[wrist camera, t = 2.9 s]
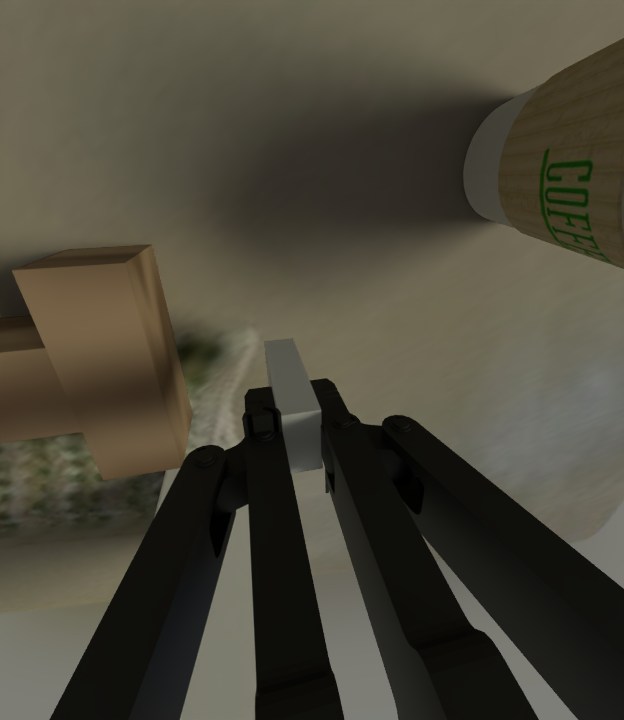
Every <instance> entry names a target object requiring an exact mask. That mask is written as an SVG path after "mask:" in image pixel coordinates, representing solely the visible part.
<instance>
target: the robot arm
mask: <svg viewBox="0 0 624 720" xmlns="http://www.w3.org/2000/svg"><path fill="white" fill-rule="evenodd" d="M264 345H265V355H266V364H267V374H268V383H269V387H263V388H256V389H249V390H248V392H247V393H246V395H245V413H244V414H243V418H242V420H243V427H244V433H245V437H244V439H243V440H242V441H241V442H240V443H239V444H238V445H236V446H234V447H232V448H230V449H228V450H225V451H224V449H223V448H221V447H219V446H215V445H207V446H202V447H199V448H197V449H195V450H193V451H192V452H191V453H189V454H188V456H187V457H186V458H185V460H184V462H183V464H182V466H181V468H180V470H179V471H178V473H177V475H176V477H175V479H174V481H173V483H172V485H171V487H170V489H169V491H168V493H167V495H166V496H165V498H164V500H163V502H162V504H161V506H160V508H159V510H158V512H157V514H156V516H155V518H154V520H153V521H152V523H151V525H150V527H149V529H148V531H147V533H146V535H145V537H144V539H143V541H142V543H141V545H140V547H139V548H138V550H137V552H136V554H135V556H134V558H133V560H132V562H131V564H130V566H129V568H128V570H127V572H126V573H125V575H124V577H123V579H122V581H121V583H120V585H119V587H118V589H117V591H116V593H115V595H114V597H113V599H112V600H111V602H110V605H109V606H108V608H107V610H106V612H105V614H104V616H103V618H102V620H101V622H100V624H99V625H98V627H97V629H96V631H95V633H94V635H93V637H92V639H91V641H90V643H89V645H88V647H87V649H86V651H85V652H84V655H83V656H82V658H81V660H80V662H79V664H78V666H77V668H76V670H75V672H74V674H73V676H72V677H71V679H70V681H69V683H68V685H67V687H66V689H65V691H64V693H63V695H62V697H61V699H60V701H59V702H58V705H57V706H56V708H55V710H54V713H53V714H52V716H51V718H50V720H180V717H181V713H182V710H183V706H184V702H185V699H186V695H187V691H188V688H189V684H190V681H191V677H192V673H193V670H194V666H195V662H196V659H197V655H198V651H199V648H200V644H201V640H202V637H203V633H204V629H205V626H206V622H207V618H208V615H209V611H210V608H211V604H212V600H213V597H214V593H215V589H216V586H217V582H218V578H219V575H220V571H221V567H222V564H223V560H224V556H225V553H226V549H227V546H228V542H229V538H230V535H231V531H232V527H233V524H234V520H235V516H236V510H237V509H239V508H241V507H243V506H246V505H248V510H249V531H250V553H251V575H252V597H253V619H254V641H255V662H256V694H255V720H344V715H343V711H342V706H341V701H340V696H339V692H338V687H337V684H336V680H335V676H334V673H333V671H332V669H331V666H330V662H329V657H328V652H327V648H326V643H325V638H324V633H323V628H322V623H321V619H320V613H319V608H318V603H317V599H316V593H315V588H314V584H313V579H312V574H311V569H310V564H309V559H308V554H307V549H306V544H305V539H304V534H303V529H302V525H301V520H300V515H299V510H298V505H297V500H296V495H295V490H294V485H293V480H292V475H291V474H292V473H297V472H303V471H309V470H315V469H320V468H323V464H322V459H323V462H324V465H325V482H326V493H329V491H330V494H331V497H332V501H333V504H334V507H335V510H336V513H337V517H338V520H339V523H340V526H341V529H342V533H343V536H344V539H345V542H346V545H347V549H348V552H349V555H350V558H351V561H352V565H353V568H354V571H355V574H356V577H357V580H358V584H359V587H360V590H361V593H362V596H363V600H364V603H365V606H366V609H367V612H368V616H369V619H370V622H371V625H372V628H373V632H374V635H375V638H376V641H377V645H378V648H379V651H380V654H381V657H382V660H383V664H384V667H385V670H386V673H387V677H388V680H389V683H390V686H391V689H392V693H393V696H394V700H395V703H396V708H397V713H398V719H399V720H539V719H538V717H537V716H536V714H535V712H534V710H533V709H532V707H531V705H530V704H529V702H528V700H527V698H526V696H525V695H524V693H523V691H522V689H521V688H520V686H519V684H518V682H517V681H516V679H515V677H514V676H513V674H512V672H511V670H510V669H509V667H508V665H507V663H506V662H505V660H504V658H503V656H502V655H501V653H500V652H499V650H498V648H497V647H496V646H495V644H494V642H493V641H492V640H491V639H490V638H489V637H488V636H487V635H486V634H485V633H484V632H482V631H480V630H477V629H474V627H473V626H472V625H471V624H470V623H469V621H468V620H467V618H466V616H465V615H464V613H463V611H462V609H461V607H460V605H459V603H458V602H457V600H456V598H455V596H454V594H453V592H452V590H451V589H450V587H449V585H448V583H447V581H446V579H445V578H444V576H443V574H442V572H441V570H440V568H439V566H438V565H437V563H436V561H435V559H434V557H433V555H432V553H431V552H430V550H429V548H428V546H427V544H426V542H425V540H424V539H423V537H422V535H423V536H424V538H425V539H426V540H427V541H428V542H429V543H430V545H431V546H432V547H433V548H434V549H435V551H436V552H437V553H438V554H439V555H440V556H441V558H442V559H443V560H444V561H445V562H446V564H447V565H448V566H449V567H450V568H451V570H452V571H453V572H454V573H455V574H456V575H457V577H458V578H459V579H460V580H461V581H462V582H463V584H464V585H465V586H466V587H467V589H468V590H469V591H470V592H471V593H472V594H473V596H474V597H475V598H476V599H477V600H478V602H479V603H480V604H481V605H482V606H483V607H484V609H485V610H486V611H487V612H488V613H489V615H490V616H491V617H492V618H493V619H494V620H495V622H496V623H497V624H498V625H499V626H500V628H501V629H502V630H503V631H504V632H505V634H506V635H507V636H508V637H509V638H510V640H511V641H512V642H513V643H514V644H515V645H516V647H517V648H518V649H519V650H520V651H521V653H523V655H524V656H525V657H526V658H527V660H528V661H529V662H530V663H531V664H532V666H533V667H534V668H535V669H536V670H537V672H538V673H539V674H540V675H541V676H542V678H543V679H544V680H545V681H546V682H547V683H548V685H549V686H550V687H551V688H552V689H553V690H554V692H555V693H556V694H557V695H558V696H559V698H560V699H561V700H562V701H563V702H564V704H565V705H566V706H567V707H568V708H569V709H570V711H571V712H572V713H573V714H574V715H575V716H576V718H577V719H578V720H624V589H623V588H622V587H621V586H619V585H618V584H617V583H616V582H615V581H613V580H612V579H611V578H610V577H608V576H607V575H606V574H605V573H603V572H602V571H601V570H600V569H598V568H597V567H596V566H595V565H594V564H592V563H591V562H590V561H589V560H587V559H586V558H585V557H584V556H582V555H581V554H580V553H578V552H577V551H576V550H575V549H573V548H572V547H571V546H570V545H569V544H567V543H566V542H565V541H564V540H563V539H561V538H560V537H559V536H558V535H556V534H555V533H554V532H553V531H551V530H550V529H549V528H548V527H546V526H545V525H544V524H543V523H541V522H540V521H539V520H538V519H537V518H535V517H534V516H533V515H532V514H530V513H529V512H528V511H527V510H525V509H524V508H523V507H522V506H520V505H519V504H518V503H517V502H515V501H514V500H513V499H512V498H510V497H509V496H508V495H507V494H506V493H504V492H503V491H502V490H501V489H499V488H498V487H497V486H496V485H494V484H493V483H492V482H491V481H489V480H488V479H487V478H486V477H484V476H483V475H482V474H481V473H480V472H478V471H477V470H476V469H475V468H473V467H472V466H471V465H470V464H468V463H467V462H466V461H465V460H463V459H462V458H461V457H460V456H458V455H457V454H456V453H455V452H453V451H452V450H451V449H450V448H449V447H447V446H446V445H445V444H444V443H442V442H441V441H440V440H439V439H437V438H436V437H435V436H434V435H432V434H431V433H430V432H429V431H427V430H426V429H425V428H424V427H422V426H421V425H420V424H419V423H418V422H416V421H415V420H413V419H411V418H410V417H406V416H403V415H394V416H389V417H387V418H385V419H384V421H383V422H382V426H378V425H367V424H363V423H361V422H360V420H359V419H358V418H357V417H356V416H355V415H353V414H351V413H349V411H348V409H347V407H346V406H345V404H344V402H343V400H342V398H341V396H340V394H339V392H338V391H337V388H336V386H335V384H334V383H333V382H331V381H330V380H328V379H327V378H326V379H318V380H309V378H308V375H307V373H306V370H305V368H304V365H303V363H302V360H301V357H300V355H299V352H298V350H297V347H296V345H295V342H294V340H293V338H292V339H283V340H273V341H264ZM421 534H422V535H421Z"/></svg>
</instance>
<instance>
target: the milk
mask: <svg viewBox="0 0 624 720" xmlns="http://www.w3.org/2000/svg"><path fill="white" fill-rule="evenodd" d="M179 470H180V468H178V469H172V470H166V471H165V475H164V479H163V483H162V487H161V491H160V495H159V499H158V503H157V508H156V512H155V516H156V514H157V512H158V510H159V508H160V506H161V504H162V502H163V500H164V498H165V496H166V495H167V493H168V491H169V489H170V487H171V485H172V483H173V481H174V479H175V477H176V475H177V473H178V471H179ZM155 516H154V518H155ZM255 694H256V662H255V641H254V619H253V597H252V575H251V553H250V531H249V510H248V505H246V506H243V507H241V508H239V509H237V510H236V516H235V520H234V524H233V527H232V531H231V535H230V538H229V542H228V546H227V549H226V553H225V556H224V560H223V564H222V567H221V571H220V575H219V578H218V582H217V586H216V589H215V593H214V597H213V600H212V604H211V608H210V611H209V615H208V618H207V622H206V626H205V629H204V633H203V637H202V640H201V644H200V648H199V651H198V655H197V659H196V662H195V666H194V670H193V673H192V677H191V681H190V684H189V688H188V691H187V695H186V699H185V702H184V706H183V710H182V713H181V717H180V720H255Z"/></svg>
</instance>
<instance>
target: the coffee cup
mask: <svg viewBox="0 0 624 720" xmlns="http://www.w3.org/2000/svg"><path fill="white" fill-rule="evenodd" d="M463 184H464V190H465V194H466V197H467V199H468V201H469V204H470V205H471V207H472V208H473V209H474V210H475V212H476V213H478V214H479V215H480V216H482V217H484V218H486V219H489V220H492V221H495V222H498V223H501V224H504V225H507V226H510V227H513V228H516V229H517V230H519V231H520V232H521V233H523V234H526V235H528V236H531V237H534V238H537V239H540V240H542V241H545V242H548V243H551V244H554V245H557V246H560V247H563V248H566V249H568V250H571V251H574V252H577V253H580V254H583V255H586V256H589V257H592V258H594V259H597V260H600V261H603V262H606V263H609V264H612V265H615V266H617V267H620V268H623V269H624V38H623V39H621V40H619V41H617V42H615V43H613V44H611V45H609V46H608V47H606V48H604V49H602V50H600V51H598V52H596V53H594V54H592V55H590V56H588V57H586V58H584V59H583V60H581V61H579V62H577V63H575V64H573V65H571V66H569V67H567V68H565V69H564V70H562V71H560V72H559V73H557V74H555V75H554V76H552V77H551V78H550V79H549V80H547V81H546V82H545V83H543V84H541V85H539V86H537V87H535V88H533V89H531V90H529V91H527V92H525V93H523V94H521V95H519V96H517V97H515V98H513V99H511V100H509V101H507V102H506V103H504V104H502V105H501V106H499V107H497V108H496V109H495V110H494V111H493V112H492V113H491V114H489V115H488V116H487V118H486V119H485V120H484V121H483V122H482V124H481V125H480V126H479V128H478V130H477V131H476V133H475V135H474V136H473V138H472V140H471V143H470V145H469V148H468V150H467V154H466V158H465V162H464V170H463Z"/></svg>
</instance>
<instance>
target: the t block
mask: <svg viewBox="0 0 624 720" xmlns="http://www.w3.org/2000/svg"><path fill="white" fill-rule="evenodd" d="M12 273H13V275H14V277H15V279H16V282H17V284H18V286H19V289H20V291H21V293H22V295H23V298H24V300H25V302H26V305H27V307H28V309H29V311H30V314H31V316H22V317H10V318H0V443H7V442H14V441H22V440H29V439H36V438H43V437H50V436H58V435H65V434H72V433H79V432H82V433H83V435H84V437H85V440H86V442H87V444H88V446H89V449H90V451H91V453H92V456H93V458H94V460H95V462H96V465H97V467H98V469H99V472H100V474H101V476H102V479H103V481H104V480H110V479H116V478H122V477H128V476H135V475H141V474H147V473H153V472H159V471H166V470H172V469H178V468H181V466H182V464H183V461H184V456H185V451H186V446H187V440H188V435H189V430H190V425H191V420H192V415H193V414H192V410H191V406H190V401H189V397H188V393H187V389H186V385H185V380H184V376H183V372H182V368H181V364H180V360H179V355H178V351H177V347H176V343H175V339H174V334H173V330H172V326H171V322H170V318H169V313H168V309H167V305H166V301H165V297H164V292H163V288H162V284H161V280H160V276H159V271H158V267H157V263H156V259H155V255H154V251H153V246H152V245H138V246H120V247H103V248H86V249H69V250H66V251H63V252H61V253H58V254H55V255H52V256H50V257H47V258H44V259H41V260H39V261H36V262H33V263H31V264H28V265H25V266H22V267H20V268H17V269H14V270H12Z"/></svg>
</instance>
